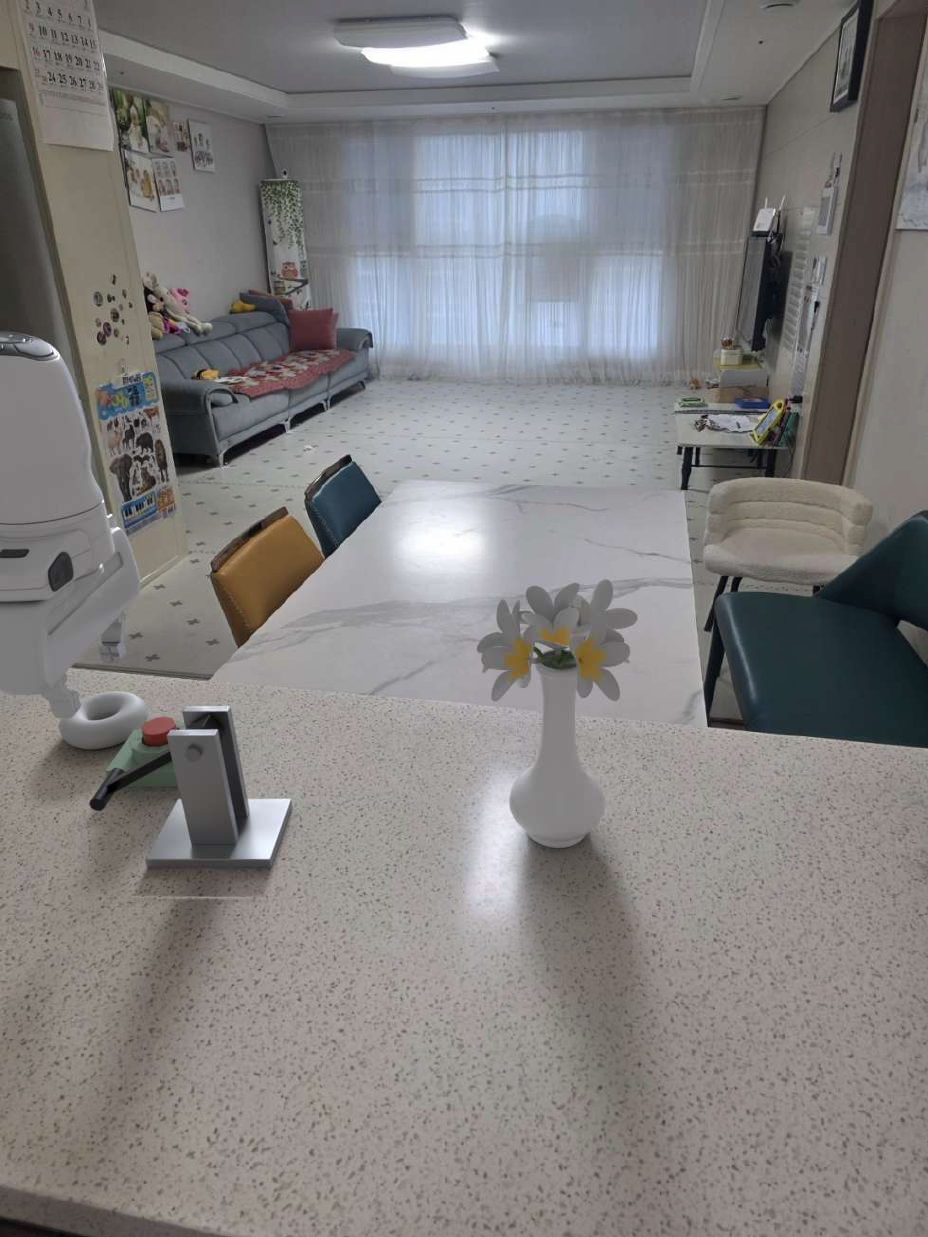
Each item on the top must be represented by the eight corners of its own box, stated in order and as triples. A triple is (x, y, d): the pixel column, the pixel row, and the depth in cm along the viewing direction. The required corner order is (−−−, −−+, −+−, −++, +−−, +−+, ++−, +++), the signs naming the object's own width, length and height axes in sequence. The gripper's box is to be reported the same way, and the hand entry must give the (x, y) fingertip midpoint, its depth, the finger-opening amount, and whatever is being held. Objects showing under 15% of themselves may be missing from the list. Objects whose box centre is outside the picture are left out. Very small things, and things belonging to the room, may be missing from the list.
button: (139, 748, 90) (136, 734, 89) (151, 729, 93) (148, 716, 93) (171, 748, 90) (168, 734, 89) (182, 729, 93) (180, 716, 92)
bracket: (147, 869, 78) (115, 749, 72) (179, 807, 86) (153, 695, 80) (271, 869, 78) (250, 748, 72) (292, 807, 86) (275, 694, 80)
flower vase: (635, 781, 88) (652, 565, 77) (598, 904, 73) (612, 655, 62) (519, 759, 92) (519, 550, 81) (460, 870, 77) (450, 631, 66)
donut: (168, 722, 101) (114, 700, 106) (163, 698, 100) (108, 677, 105) (99, 765, 94) (44, 740, 98) (92, 740, 92) (37, 715, 97)
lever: (99, 817, 78) (82, 799, 77) (121, 784, 83) (104, 767, 82) (214, 755, 75) (197, 736, 74) (230, 724, 79) (214, 706, 78)
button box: (109, 787, 90) (101, 757, 88) (138, 745, 97) (130, 716, 95) (199, 787, 89) (193, 756, 88) (221, 744, 97) (216, 715, 95)
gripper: (74, 501, 77) (107, 632, 83) (-57, 590, 59) (-3, 750, 65) (140, 499, 77) (168, 631, 83) (29, 589, 59) (75, 750, 65)
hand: (92, 685), depth 74 cm, fingers open, 8 cm apart
